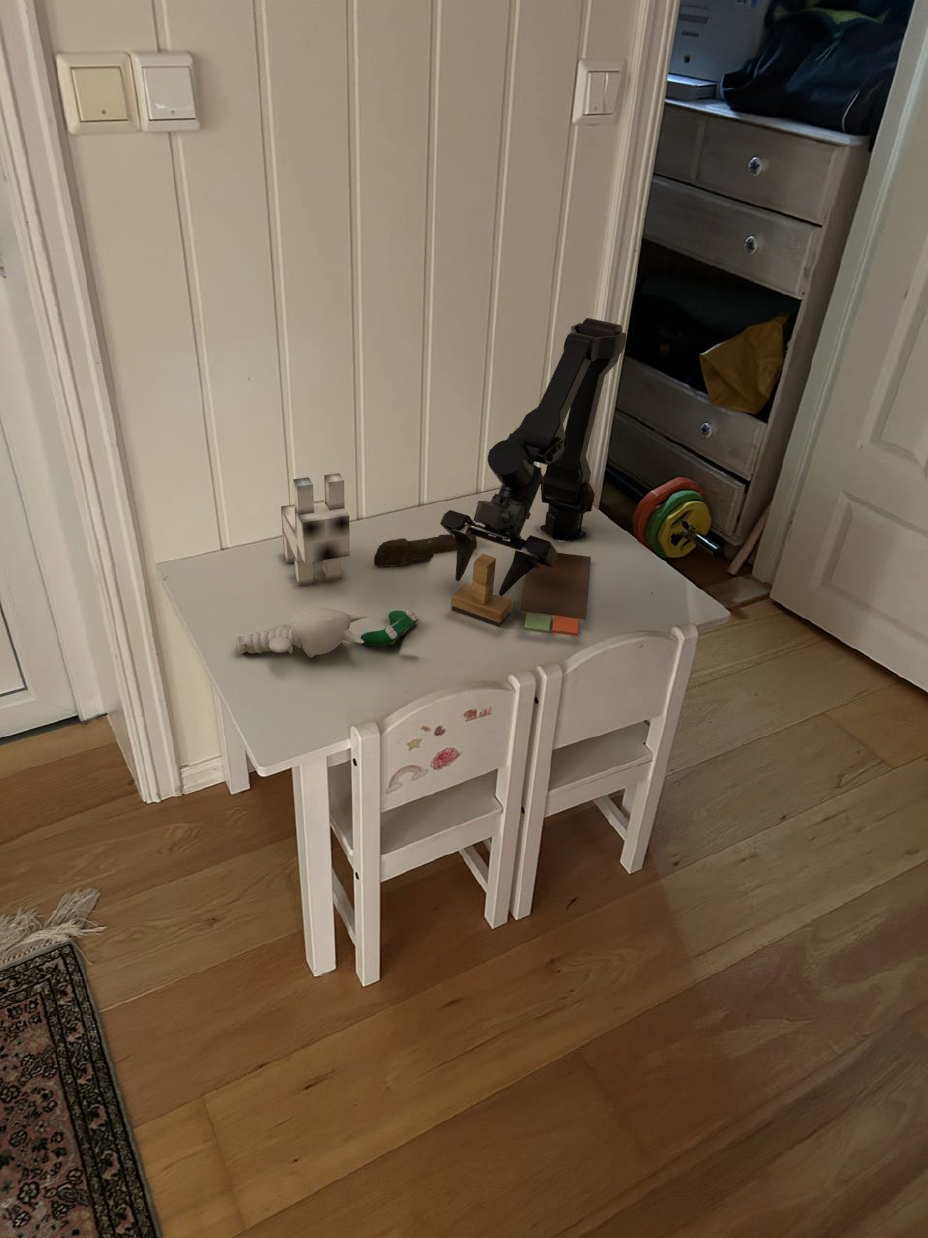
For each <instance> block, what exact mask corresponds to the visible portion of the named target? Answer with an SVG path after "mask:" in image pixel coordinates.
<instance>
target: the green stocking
mask: <svg viewBox="0 0 928 1238" xmlns="http://www.w3.org/2000/svg"><path fill="white" fill-rule="evenodd" d="M388 620H389V622H391V623H392V624H391V625H390V624H388V625H387V626H386V627H385V628H383V629H380V630H374V631H367V632H365V633H362V634H361V635H360V638H361V639H362V640H363V641H364V642H363V643H361V644H363V645H365V646H369V647H385V646H392V645H393V644H395V643H396V640H397V639H399V637H402V636H404V635H405V634H406V633H407V631H408V630H409V629H411V628H412V627H413V626H415V624H417V622H418V621H419V618H418V615H417V613H415V611H414V610H413V609H411V608H408V609H407V610H406V611H404V610H397V609H395V610H392V611H390V612H389V613H388Z"/></svg>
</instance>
